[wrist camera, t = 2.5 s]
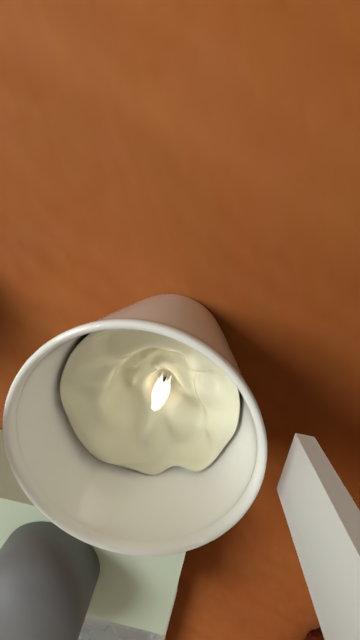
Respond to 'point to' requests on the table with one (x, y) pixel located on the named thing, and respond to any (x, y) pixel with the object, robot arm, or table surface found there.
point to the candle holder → (138, 430)
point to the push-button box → (71, 576)
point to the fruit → (315, 635)
